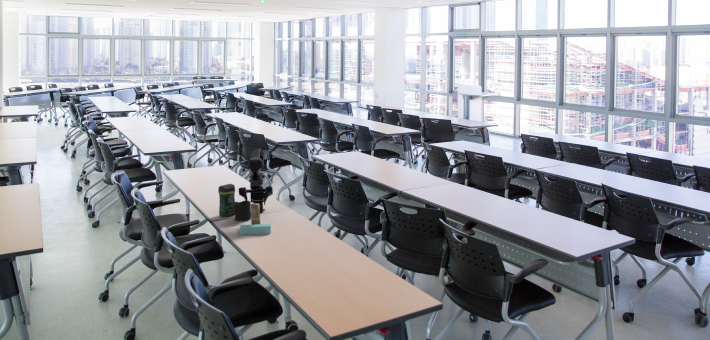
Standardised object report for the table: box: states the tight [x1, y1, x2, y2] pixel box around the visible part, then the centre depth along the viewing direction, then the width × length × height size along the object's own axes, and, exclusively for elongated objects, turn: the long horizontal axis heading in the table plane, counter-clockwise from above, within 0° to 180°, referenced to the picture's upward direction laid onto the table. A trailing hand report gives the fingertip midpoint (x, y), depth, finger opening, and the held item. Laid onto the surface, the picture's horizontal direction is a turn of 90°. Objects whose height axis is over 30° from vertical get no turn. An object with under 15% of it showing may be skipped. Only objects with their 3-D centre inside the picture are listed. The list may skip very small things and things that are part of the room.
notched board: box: [239, 223, 272, 236], centre depth 293 cm, size 12×16×4 cm
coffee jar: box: [217, 183, 236, 218], centre depth 319 cm, size 10×8×19 cm
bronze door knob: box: [250, 202, 261, 225], centre depth 294 cm, size 6×6×14 cm
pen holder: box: [234, 200, 252, 222], centre depth 312 cm, size 9×9×10 cm
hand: (255, 205), depth 302 cm, fingers open, 9 cm apart
